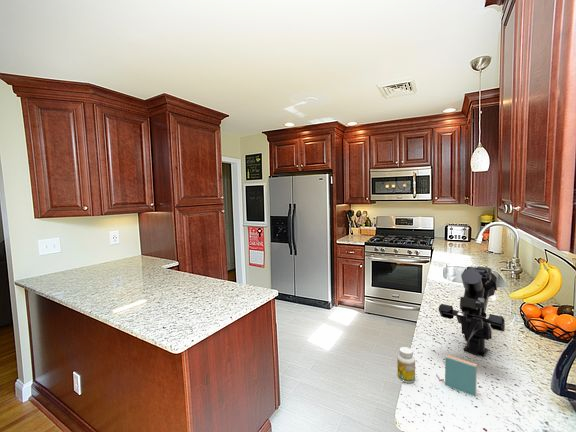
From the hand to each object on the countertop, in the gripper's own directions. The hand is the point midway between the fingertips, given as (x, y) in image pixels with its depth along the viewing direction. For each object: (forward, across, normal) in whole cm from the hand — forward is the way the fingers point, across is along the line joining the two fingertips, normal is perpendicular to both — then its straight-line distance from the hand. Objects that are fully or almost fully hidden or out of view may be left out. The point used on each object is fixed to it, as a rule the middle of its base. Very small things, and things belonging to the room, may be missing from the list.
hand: (466, 340), depth 92 cm
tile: (+15, 0, +2) cm, 15 cm away
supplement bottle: (+19, -14, -2) cm, 24 cm away
